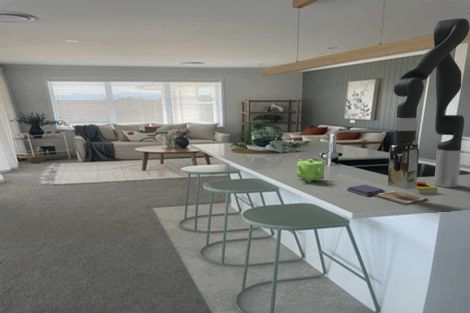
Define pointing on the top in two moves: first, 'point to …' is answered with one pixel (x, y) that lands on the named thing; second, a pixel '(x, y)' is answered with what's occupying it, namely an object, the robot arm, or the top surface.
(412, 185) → the coffee box
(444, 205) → the top surface
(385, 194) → the marked board
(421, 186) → the emergency button
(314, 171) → the green knobbed block
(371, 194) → the ink pad
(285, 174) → the top surface
